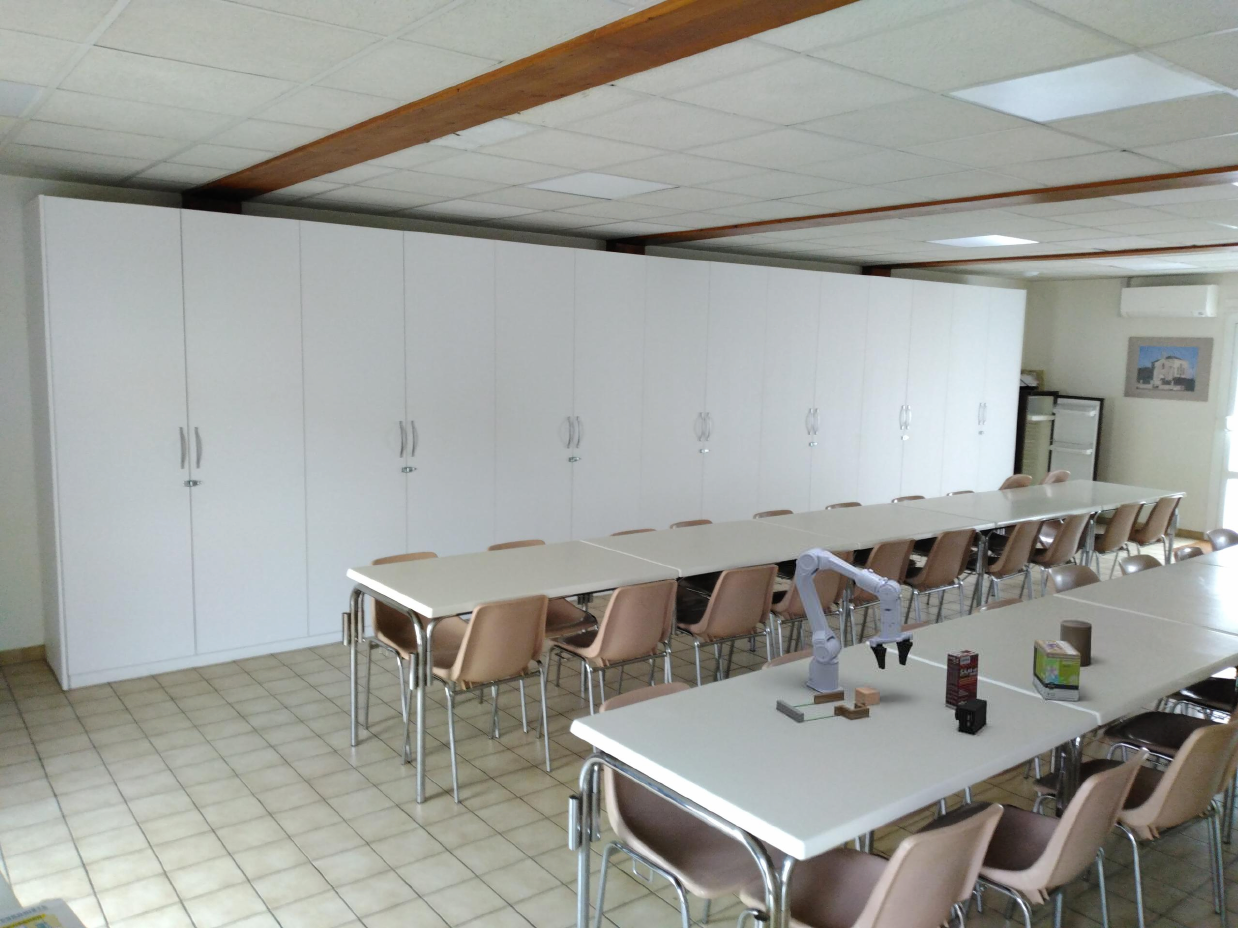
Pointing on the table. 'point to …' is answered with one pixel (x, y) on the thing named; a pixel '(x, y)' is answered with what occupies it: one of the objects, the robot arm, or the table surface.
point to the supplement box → (961, 677)
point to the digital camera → (971, 715)
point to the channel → (851, 714)
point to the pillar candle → (1078, 638)
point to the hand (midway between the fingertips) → (892, 666)
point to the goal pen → (796, 711)
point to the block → (867, 696)
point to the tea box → (1056, 670)
